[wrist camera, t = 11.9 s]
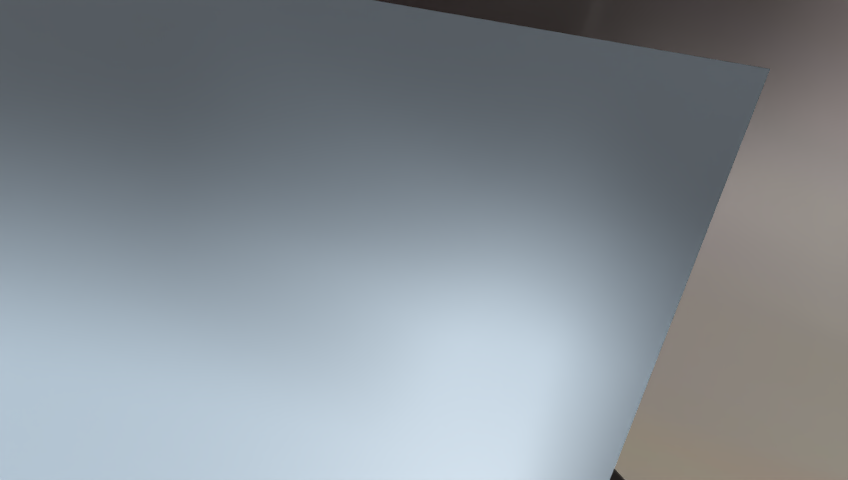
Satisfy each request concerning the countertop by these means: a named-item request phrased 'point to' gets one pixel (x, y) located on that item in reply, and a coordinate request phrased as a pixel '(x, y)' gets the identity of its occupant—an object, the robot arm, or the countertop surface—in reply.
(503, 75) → the lid
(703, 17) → the countertop surface
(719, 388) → the countertop surface
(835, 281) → the countertop surface
